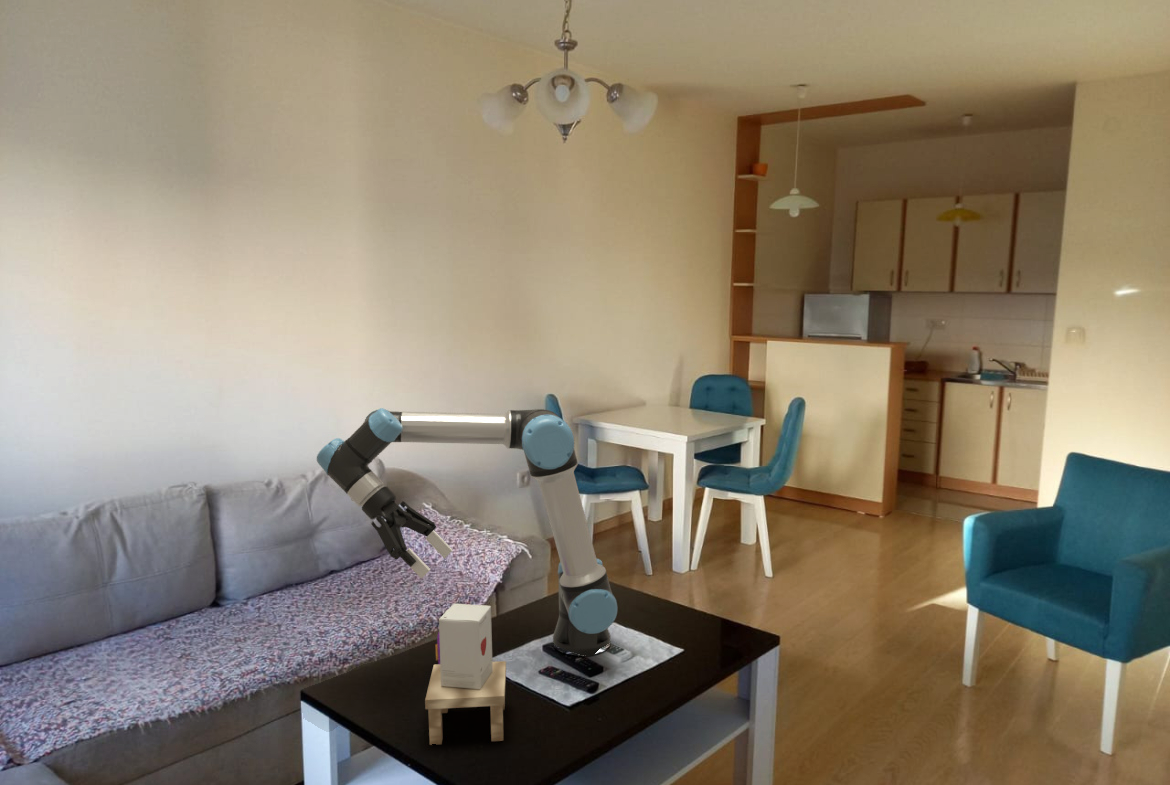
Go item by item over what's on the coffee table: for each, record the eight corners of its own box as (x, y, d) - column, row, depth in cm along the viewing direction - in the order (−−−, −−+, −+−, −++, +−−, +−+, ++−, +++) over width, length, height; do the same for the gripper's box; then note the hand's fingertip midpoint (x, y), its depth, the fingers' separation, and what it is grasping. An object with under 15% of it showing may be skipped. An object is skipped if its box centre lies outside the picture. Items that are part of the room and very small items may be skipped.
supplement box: (480, 690, 167) (478, 621, 165) (440, 687, 169) (437, 618, 167) (494, 670, 176) (492, 604, 174) (455, 667, 178) (452, 602, 176)
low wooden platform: (507, 703, 182) (505, 661, 181) (505, 741, 166) (504, 695, 165) (435, 707, 181) (433, 664, 179) (427, 746, 165) (425, 700, 164)
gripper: (386, 494, 196) (447, 557, 194) (335, 522, 171) (403, 594, 170) (406, 473, 194) (467, 536, 193) (356, 499, 170) (426, 571, 168)
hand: (437, 564), depth 181 cm, fingers open, 13 cm apart
